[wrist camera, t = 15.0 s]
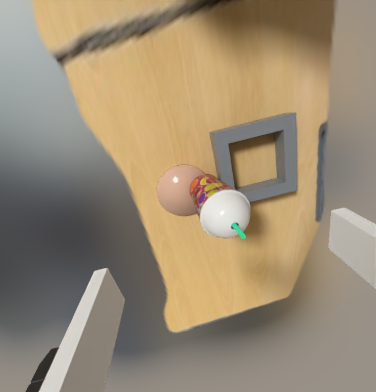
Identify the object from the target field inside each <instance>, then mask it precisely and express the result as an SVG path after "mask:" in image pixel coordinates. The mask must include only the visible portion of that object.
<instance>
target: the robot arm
mask: <svg viewBox="0 0 376 392" xmlns="http://www.w3.org/2000/svg"><path fill="white" fill-rule="evenodd" d="M328 247H329V248H328V249H330V250H331V251H332V252H333V253H334V254H335V255H337V256H338V257H339V258H340V259H341V260H342V261H344V262H345V263H346V264H347V265H348V266H349V267H350V268H352V269H353V270H354V271H355V272H356V273H358V274H359V275H360V276H361V277H362V278H363V279H365V280H366V281H367V282H368V283H369V284H371V286H373V287H374V288H375V289H376V224H374V223H372V222H370V221H369V220H367V219H365V218H363V217H361V216H359V215H358V214H356V213H354V212H352V211H350V210H348V209H347V208H345V207H344V208H340V209H337V210H332V211H331V221H330V234H329V246H328ZM124 301H125V299H124V297H123V295H122V294H121V292H120V290H119V288H118V286H117V284H116V283H115V281H114V279H113V277H112V275H111V274H110V272H109V270H108V268H105V269H101V270H97V271H94V274H93V276H92V278H91V280H90V282H89V284H88V286H87V289H86V291H85V293H84V295H83V297H82V299H81V302H80V304H79V306H78V308H77V310H76V312H75V315H74V317H73V319H72V321H71V324H70V325H69V328H68V330H67V332H66V334H65V337H64V338H63V341H62V343H61V345H60V347H58V348H54V349H51V350H50V352H49V353H48V354H47V355H46V357H45V358H44V359H43V361H42V362H41V363H40V364H39V366H38V369H37V370H36V373H35V374H34V376H33V378H32V380H31V384H30V385H29V386H28V388H27V390H26V392H104V389H105V384H106V380H107V375H108V372H109V367H110V363H111V358H112V353H113V350H114V345H115V341H116V336H117V332H118V328H119V323H120V319H121V315H122V311H123V306H124Z"/></svg>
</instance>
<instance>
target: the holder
mask: <svg viewBox="0 0 376 392" xmlns="http://www.w3.org/2000/svg"><path fill="white" fill-rule="evenodd" d="M272 132H275V148H276V166H277V178H275V179H271V180H267V181H263V182H259V183H255V184H251V185H247V186H243V187H239V188H235V187H234V180H233V173H232V166H231V159H230V153H229V146H228V144H229V143H233V142H237V141H241V140H245V139H249V138H253V137H257V136H261V135H265V134H268V133H272ZM210 138H211V143H212V149H213V154H214V160H215V166H216V171H217V177H218V179H219V180H221V181H222V182H224V183H226V184H227V185H229V186H230V187H232V188H233V189H235V190H237V191H239V192H241V193H242V194H243V195H245V196H246V198H247V199H248V201H249V202H253V201H257V200H261V199H265V198H269V197H273V196H277V195H280V194H284V193H288V192H292V191H296V190H297V142H296V113H284V114H280V115H276V116H272V117H268V118H264V119H260V120H256V121H252V122H248V123H244V124H241V125H237V126H233V127H229V128H225V129H221V130H217V131H213V132H210Z"/></svg>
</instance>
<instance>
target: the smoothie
mask: <svg viewBox="0 0 376 392" xmlns="http://www.w3.org/2000/svg"><path fill="white" fill-rule="evenodd" d="M190 195H191V198H192V200H193V203H194V205H195V208H196V211H197V213H198V216H199V219H200V222H201V225H202V228H203V229H204V230H205V231H206V233H208V234H209V235H211V236H213V237H219V238H224V239H227V238H233V237H236V236H238V235H239V236H240V237H241V238H242V239H245V238H246V235H245V234H244V233H243V231H244V230H245V229H246V228H247V226H248V224H249V221H250V211H251V208H250V203H249V201H248V199H247V198H246V196H245V195H243V194H242V193H241V192H239V191H237V190H235V189H233V188H232V187H230V186H229V185H227V184H226V183H224V182H222V181H221V180H219V179H218V178H216V177H214V176H213V175H210V174H202V175H200V176H198V177H196V178H195V179H194V180H193V182H192V183H191V186H190Z"/></svg>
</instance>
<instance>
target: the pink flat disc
mask: <svg viewBox="0 0 376 392" xmlns="http://www.w3.org/2000/svg"><path fill="white" fill-rule="evenodd" d="M202 174H204V172H202V171H201V170H200V169H199V168H197V167H194V166H191V165H177V166H174V167H172V168H170V169H169V170H167V171H166V172H165V173H164V174H163V175H162V176H161V178H160V180H159V182H158V186H157V196H158V200H159V202H160V204H161V205H162V207H163V208H164V209H165V210H167V211H168V212H170V213H172V214H175V215H179V216H187V215H192V214H194V213H197V211H196V208H195V205H194V203H193V200H192V198H191V195H190V186H191V183H192V182H193V180H194V179H195V178H196V177H198V176H200V175H202Z"/></svg>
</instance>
